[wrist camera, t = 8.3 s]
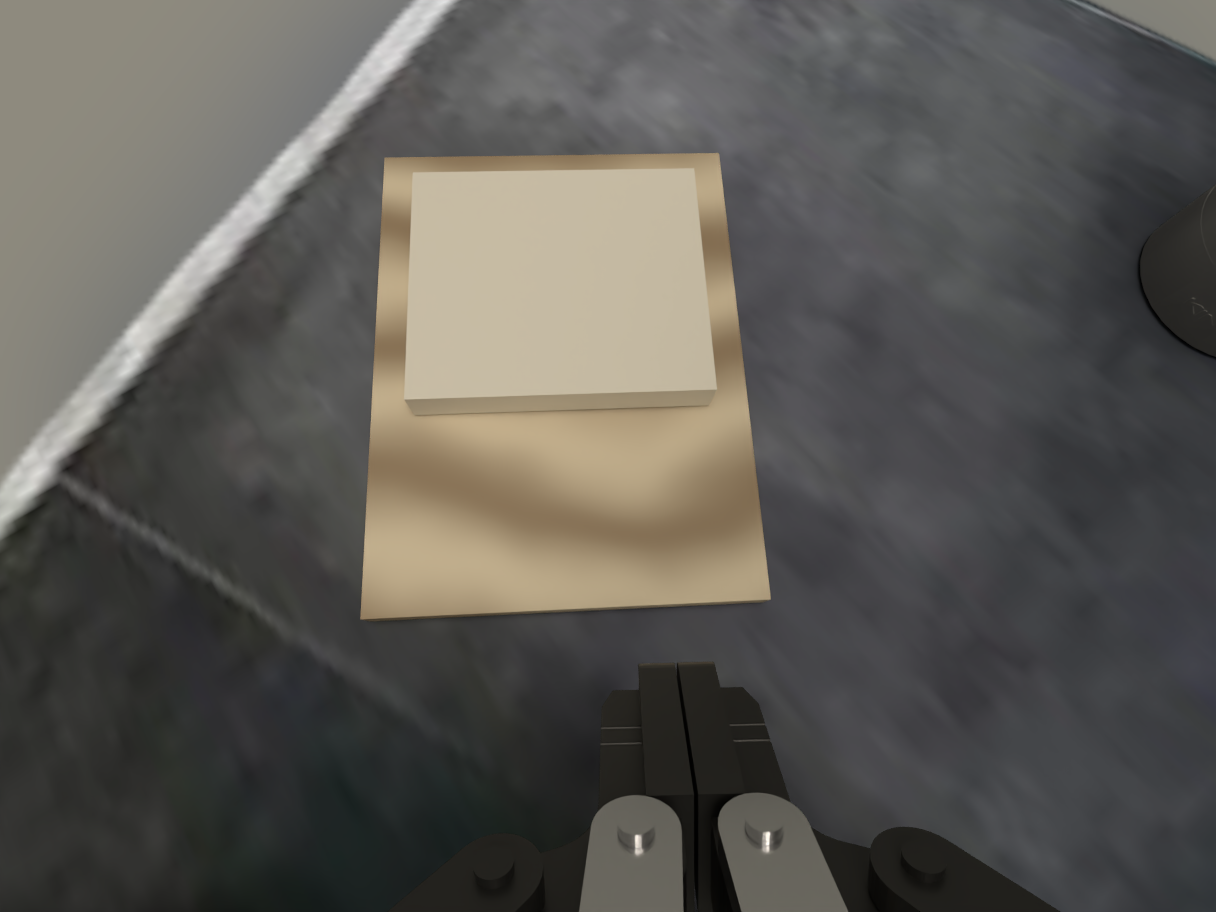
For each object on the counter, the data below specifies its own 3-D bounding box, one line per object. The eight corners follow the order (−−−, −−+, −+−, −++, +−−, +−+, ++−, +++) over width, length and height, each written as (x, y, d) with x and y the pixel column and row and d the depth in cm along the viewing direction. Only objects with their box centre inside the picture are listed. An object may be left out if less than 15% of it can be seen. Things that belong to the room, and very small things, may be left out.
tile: (708, 406, 33) (687, 196, 36) (717, 389, 31) (694, 168, 34) (415, 416, 32) (422, 200, 36) (404, 399, 30) (412, 172, 34)
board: (391, 176, 38) (384, 157, 36) (713, 171, 39) (718, 152, 37) (370, 621, 31) (360, 619, 29) (762, 602, 32) (770, 599, 30)
